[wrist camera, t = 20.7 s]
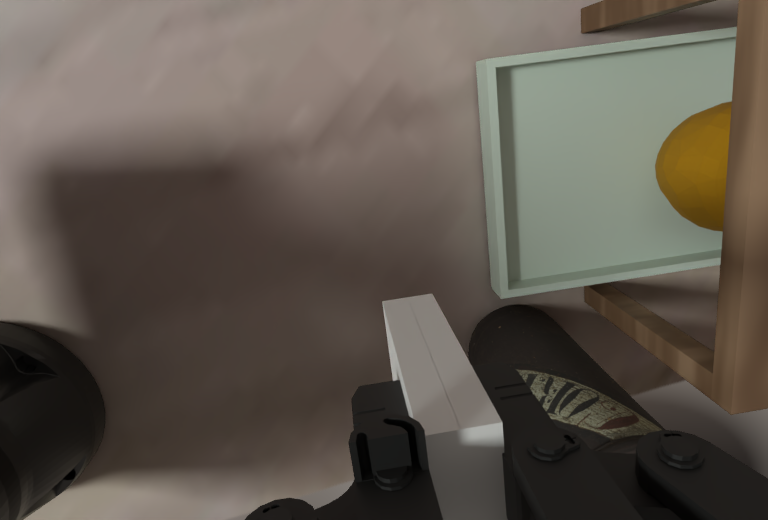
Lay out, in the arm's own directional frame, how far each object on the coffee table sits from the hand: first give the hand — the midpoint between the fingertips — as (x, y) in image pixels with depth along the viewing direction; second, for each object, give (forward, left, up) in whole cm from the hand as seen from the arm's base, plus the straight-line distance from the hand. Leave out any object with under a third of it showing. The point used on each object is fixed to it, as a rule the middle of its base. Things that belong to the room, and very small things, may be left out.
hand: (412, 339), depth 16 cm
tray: (+21, 0, -24) cm, 32 cm away
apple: (+24, 0, -24) cm, 34 cm away
